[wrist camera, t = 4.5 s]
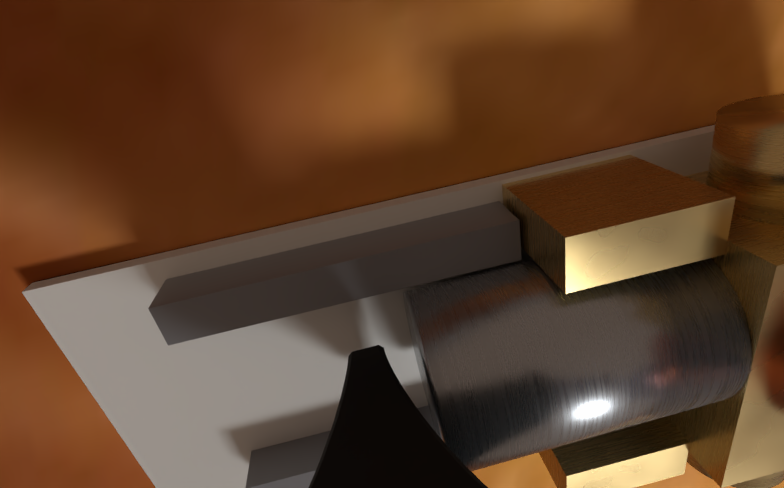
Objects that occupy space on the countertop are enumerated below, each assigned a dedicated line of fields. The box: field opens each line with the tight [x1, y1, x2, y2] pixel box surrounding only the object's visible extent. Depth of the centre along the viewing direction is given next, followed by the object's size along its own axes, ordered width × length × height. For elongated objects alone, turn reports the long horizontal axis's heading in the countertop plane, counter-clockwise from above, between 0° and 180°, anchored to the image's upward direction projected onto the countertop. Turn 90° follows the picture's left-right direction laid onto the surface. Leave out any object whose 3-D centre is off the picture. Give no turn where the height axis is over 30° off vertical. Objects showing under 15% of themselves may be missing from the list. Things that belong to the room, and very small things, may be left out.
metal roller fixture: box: [22, 125, 715, 488], centre depth 12 cm, size 8×19×2 cm, turn 101°
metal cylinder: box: [403, 258, 752, 471], centre depth 10 cm, size 4×6×4 cm, turn 101°
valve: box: [502, 94, 784, 488], centre depth 10 cm, size 10×8×5 cm
